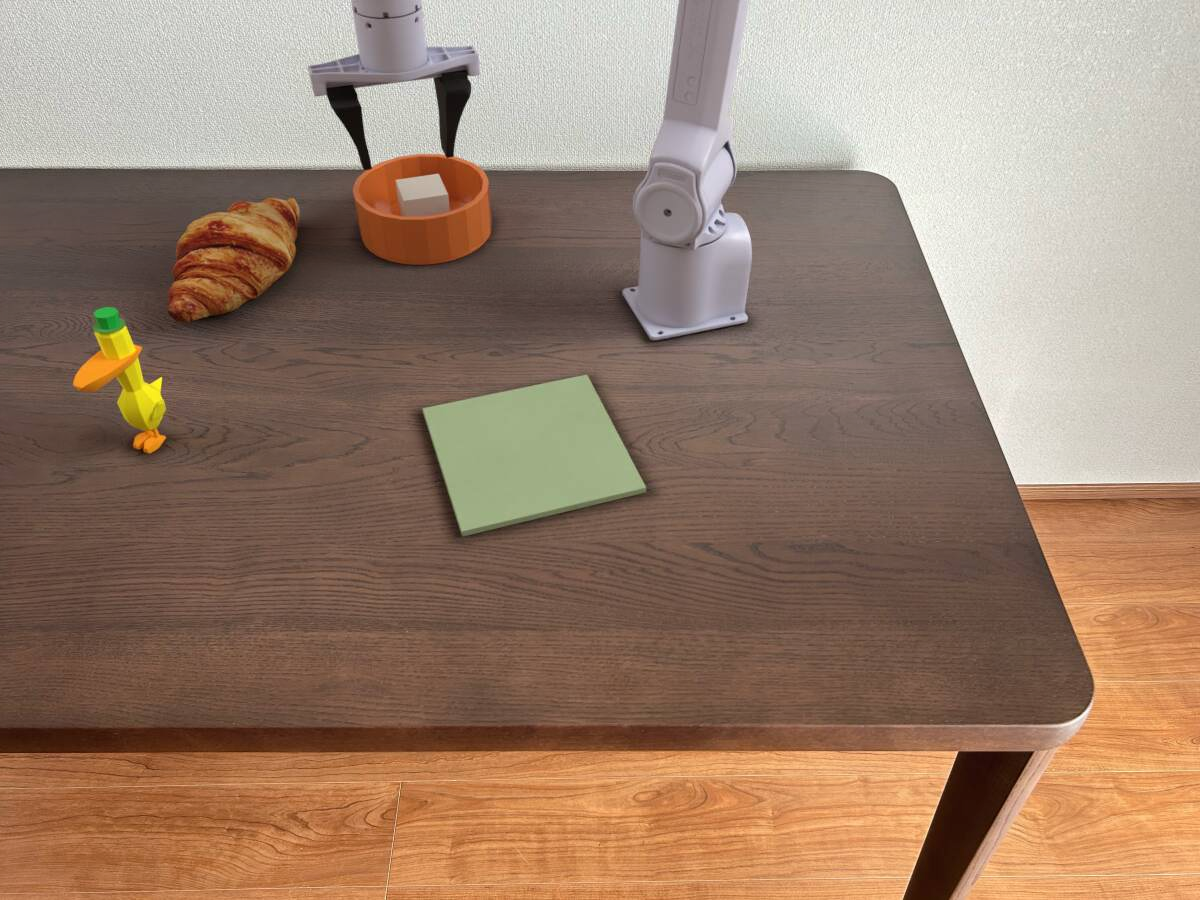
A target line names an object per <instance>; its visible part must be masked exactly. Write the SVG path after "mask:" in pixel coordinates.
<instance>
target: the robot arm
mask: <svg viewBox="0 0 1200 900" xmlns="http://www.w3.org/2000/svg"><path fill="white" fill-rule="evenodd" d="M677 2H678V3H677V10H676V17H675V26H674V34H673V41H672V50H671V57H670V64H669V72H668V79H667V87H666V95H665V103H664V111H663V117H662V118H663V119H662V123H661V125H660V128H659V130H658V133H657V136H656V139H655V141H654V144H653V146H652V150H651V152H650V156H649V158H648V159H649V160H648V168H647V172H646V175H645V176H644V178H643V180H642V181H641V182H640V183H639V184H638V186H637V188H636V189H635V191H634V194H633V197H632V211H633V217H634V218H635V220H636V223H637V224H638V226H639V228H640V246H639V267H638V285H637V286H631V287H626V288H623V289H622V297H623V298H624V299H625V301H626V303H627V304H628V306H629V307H630V309H631V311H632V312H633V313H634V316H635V318H636V319H637V320H638V322H639V324H640V325H641V328H643V330H644V332H645V333H646V335H647V337H648V338H649V339H650V340H651V341H661V340H665V339H670V338H675V337H681V336H685V335H691V334H695V333H700V332H705V331H711V330H716V329H720V328H725V327H730V326H735V325H740V324H745V323H747V322H748V320H749V316H748V314H747V313H746V304H747V299H748V298H747V296H748V290H749V283H750V278H751V277H750V276H751V268H752V263H753V249H752V247H753V246H752V239H751V235H750V232H749V228H748V226H747V224H746V222H745V220H744V219H743V218H742V216H741V215H739V214H738V213H736V212H725V210H724V206H723V203H722V199H723V197H724V196H725V194H726V193H727V192H728V191H729V190H730V189H731V187H732V185H733V184H734V182H735V180H736V178H737V174H738V162H737V157H736V154H735V151H734V146H733V134H734V128H735V124H734V122H733V120H732V119H730V116H729V115H730V109H731V104H732V99H733V98H732V97H733V93H734V87H735V81H736V76H737V70H738V65H739V60H740V53H741V48H742V44H743V43H742V42H743V37H744V32H745V26H746V19H747V14H748V9H749V5H750V4H749V3H750V0H678V1H677ZM350 4H351V9H352V15H353V22H354V30H355V35H356V36H355V37H356V42H357V47H358V53H357V54H352V55H349V56H345V57H342V58H339V59H334V60H331V61H327V62H323V63H322V62H321V63H317V64H311V65H307V71H308V76H309V77H308V78H309V81H310V86H311V90H312V94H313V96H314V97H323V96H326V97H327V100H328V102H329V105H330V107H331V109H332V111H333V113H334V114H335V115H336V117H337V118H338V119H339V121H340V122H341V123H342V126H343V127H344V128H345V130H346V131H347V133H348V134H349V136H350V138H351V140H352V141H353V144H354V146H355V148H356V150H357V154H358V157H359V162H360V164H361V167H362V169H363V171H366V170H370V169H372V168H371V167H372V161H371V157H370V152H369V149H368V144H367V141H366V136H365V135H366V134H365V126H364V119H363V109H362V108H363V107H362V105H361V103H360V101H359V97H358V93H357V91H356V89H358V88H359V89H360V88H367V87H374V86H383V85H390V84H397V83H405V82H413V81H421V80H428V79H433V83H434V88H435V89H434V90H435V96H436V101H437V102H436V103H437V109H438V125H439V141H440V147H441V150H442V151H443V155H446V157H447V158H449V157H453V156H454V157H455V145H456V138H457V133H458V129H459V125H460V122H461V118H462V116H463V113H464V110H465V108H466V105H467V103H468V102H469V100H470V98H471V94H472V83H471V81H470V79H469V77H475V76H480V75H481V70H480V57H479V52H478V51H477V50H476V48H475V47H474V46H473V45H465V46H427V39H426V31H425V22H424V14H423V5H422V4H423V3H422V0H350Z"/></svg>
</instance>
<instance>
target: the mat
mask: <svg viewBox="0 0 1200 900" xmlns="http://www.w3.org/2000/svg"><path fill="white" fill-rule="evenodd" d="M422 414H423V418H424V420H425V424H426V427H427V430H428V433H429V436H430V440H431V442H432V446H433V449H434V452H435V456H436V458H437V462H438V465H439V468H440V471H441V474H442V477H443V480H444V484H445V487H446V490H447V493H448V496H449V500H450V504H451V506H452V509H453V512H454V515H455V518H456V522H457V525H458V529H459V531H460V535H461V538H462V537H469V536H472V535H476V534H480V533H484V532H487V531H492V530H496V529H499V528H504V527H509V526H513V525H517V524H522V523H525V522H526V523H527V522H529V521H534V520H538V519H543V518H546V517H550V516H554V515H558V514H561V513H562V514H563V513H567V512H571V511H574V510H579V509H585V508H588V507H592V506H596V505H600V504H604V503H608V502H614V501H617V500H621V499H625V498H630V497H633V496H638V495H643V494H645V493H646V492H647V486H646V484H645V483H644V481H643V479H642V477H641V475H640V472H639V471H638V469H637V467H636V466H635V463H634V462H633V460H632V458H631V455H630V454H629V451H628V450H627V448H626V447H625V444H624V442H623V440H622V438H621V436H620V435H619V433H618V431H617V429H616V427H615V425H614V423H613V421H612V419H611V418H610V416H609V414H608V412H607V410H606V407H604V404H603V402H602V400H601V397H600V396H599V395H598V393H597V391H596V389H595V387H594V384H593V383H592V381H591V379H590V377H589V376H588V374H582V375H576V376H572V377H568V378H563V379H558V380H552V381H548V382H543V383H539V384H533V385H530V386H529V385H528V386H524V387H519V388H514V389H508V390H505V391H504V390H503V391H499V392H495V393H489V394H485V395H480V396H475V397H469V398H466V399H465V398H464V399H461V400H456V401H450V402H445V403H440V404H436V405H432V406H427V407H422Z"/></svg>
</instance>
